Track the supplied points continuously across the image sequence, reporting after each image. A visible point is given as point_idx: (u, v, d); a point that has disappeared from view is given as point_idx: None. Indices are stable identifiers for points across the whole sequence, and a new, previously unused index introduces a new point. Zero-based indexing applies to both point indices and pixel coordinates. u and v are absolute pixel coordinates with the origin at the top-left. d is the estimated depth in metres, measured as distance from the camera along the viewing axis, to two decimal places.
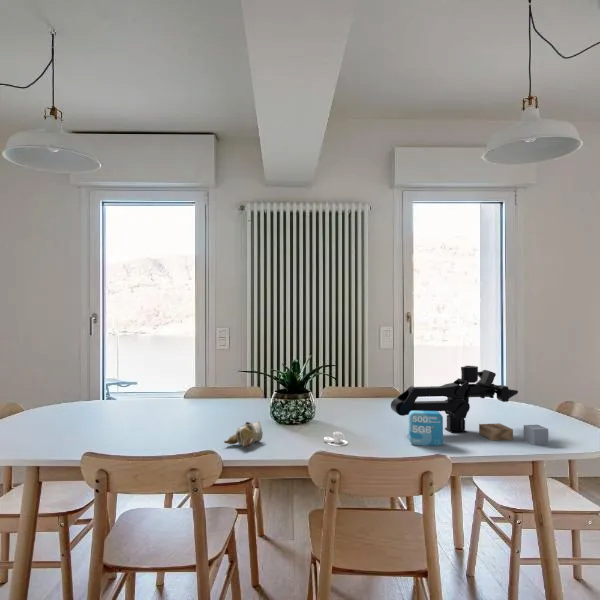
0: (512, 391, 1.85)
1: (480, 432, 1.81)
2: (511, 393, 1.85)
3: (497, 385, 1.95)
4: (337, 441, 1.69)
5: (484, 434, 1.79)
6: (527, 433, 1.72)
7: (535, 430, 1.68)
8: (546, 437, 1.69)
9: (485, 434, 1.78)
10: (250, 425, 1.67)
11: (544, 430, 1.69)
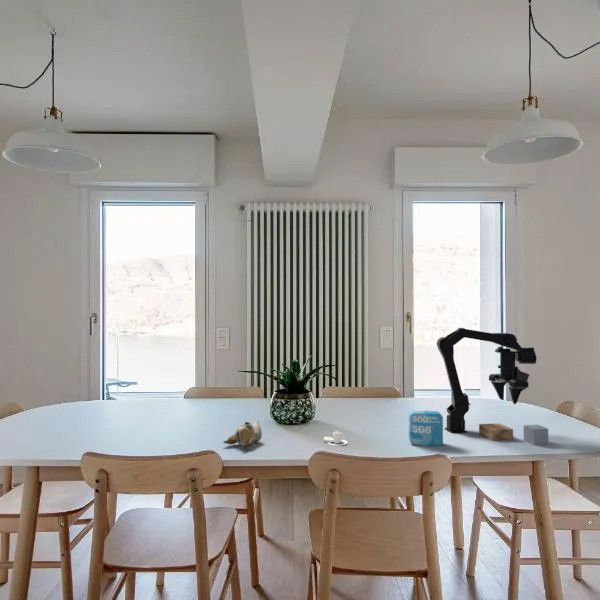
0: (517, 396, 1.79)
1: (480, 432, 1.81)
2: (515, 394, 1.78)
3: (503, 391, 1.89)
4: (337, 441, 1.69)
5: (484, 434, 1.79)
6: (527, 433, 1.72)
7: (535, 430, 1.68)
8: (546, 437, 1.69)
9: (485, 434, 1.78)
10: (249, 425, 1.67)
11: (544, 430, 1.69)
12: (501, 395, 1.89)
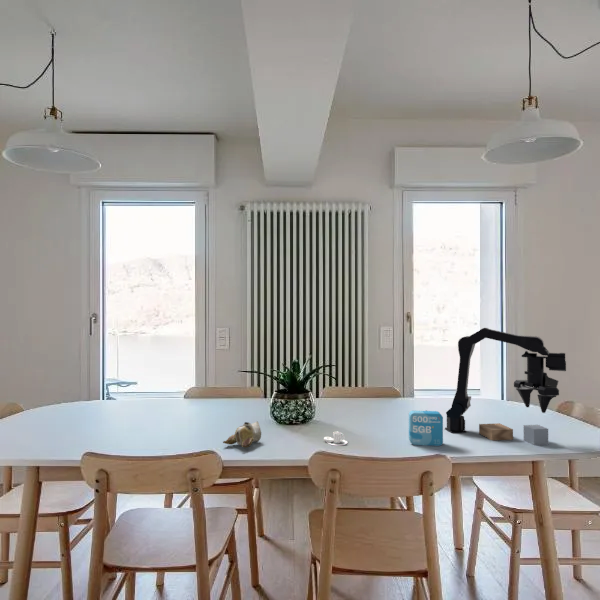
0: (546, 405, 1.66)
1: (480, 432, 1.81)
2: (544, 403, 1.66)
3: None
4: (337, 441, 1.69)
5: (484, 434, 1.79)
6: (527, 433, 1.72)
7: (535, 430, 1.68)
8: (546, 437, 1.69)
9: (485, 434, 1.78)
10: (249, 425, 1.67)
11: (544, 430, 1.69)
12: (527, 403, 1.76)
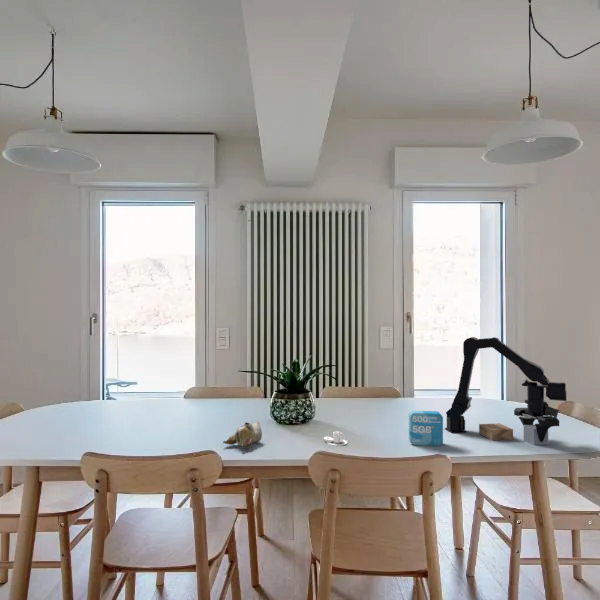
0: (544, 434, 1.68)
1: (480, 432, 1.81)
2: (542, 432, 1.67)
3: None
4: (337, 441, 1.69)
5: (484, 434, 1.79)
6: (527, 433, 1.72)
7: (535, 430, 1.68)
8: (546, 437, 1.69)
9: (485, 434, 1.78)
10: (249, 425, 1.66)
11: None
12: None
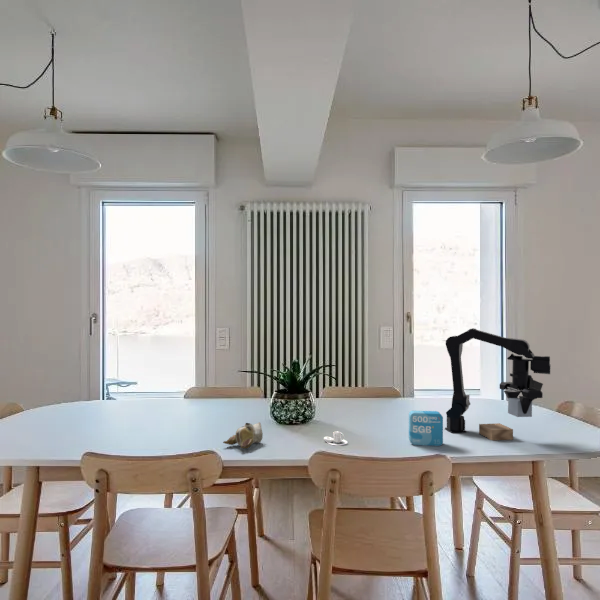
0: (527, 406, 1.70)
1: (480, 432, 1.81)
2: (525, 404, 1.70)
3: None
4: (337, 441, 1.69)
5: (484, 434, 1.79)
6: (511, 405, 1.75)
7: (519, 402, 1.71)
8: (530, 409, 1.72)
9: (485, 434, 1.78)
10: (250, 426, 1.66)
11: None
12: None
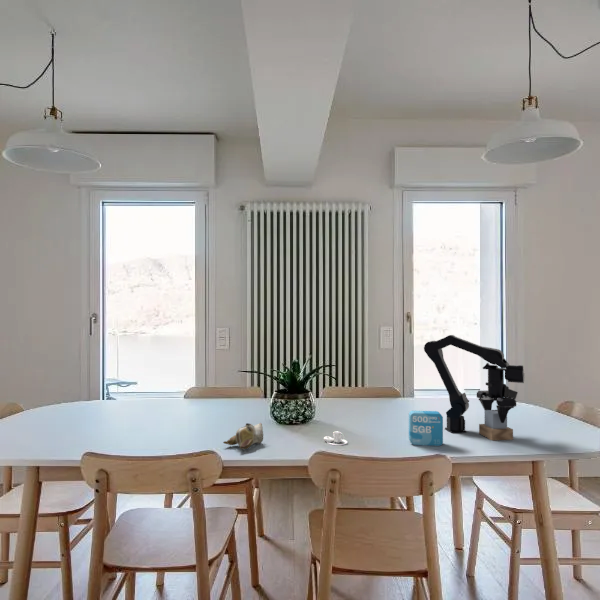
0: (505, 415, 1.73)
1: (480, 432, 1.81)
2: (503, 413, 1.73)
3: (491, 408, 1.84)
4: (337, 440, 1.70)
5: (484, 434, 1.79)
6: (487, 417, 1.79)
7: (494, 414, 1.76)
8: (505, 421, 1.76)
9: (485, 434, 1.78)
10: (250, 426, 1.65)
11: None
12: None
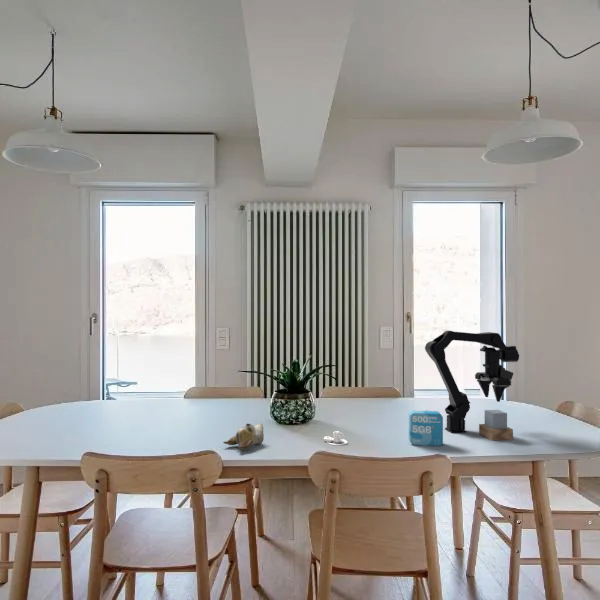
0: (500, 394, 1.82)
1: (480, 432, 1.81)
2: (498, 392, 1.82)
3: None
4: (337, 440, 1.70)
5: (484, 434, 1.79)
6: (487, 417, 1.79)
7: (494, 414, 1.76)
8: (505, 421, 1.76)
9: (485, 434, 1.78)
10: (250, 427, 1.64)
11: (503, 414, 1.76)
12: (486, 393, 1.92)
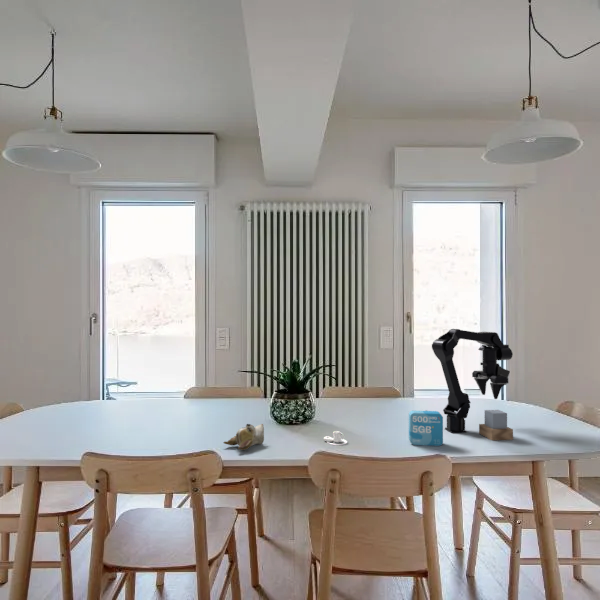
0: (498, 392, 1.88)
1: (480, 432, 1.81)
2: (496, 390, 1.88)
3: None
4: (337, 440, 1.70)
5: (484, 434, 1.79)
6: (487, 417, 1.79)
7: (494, 414, 1.76)
8: (505, 421, 1.76)
9: (485, 434, 1.78)
10: (250, 427, 1.64)
11: (503, 414, 1.76)
12: (483, 391, 1.98)
